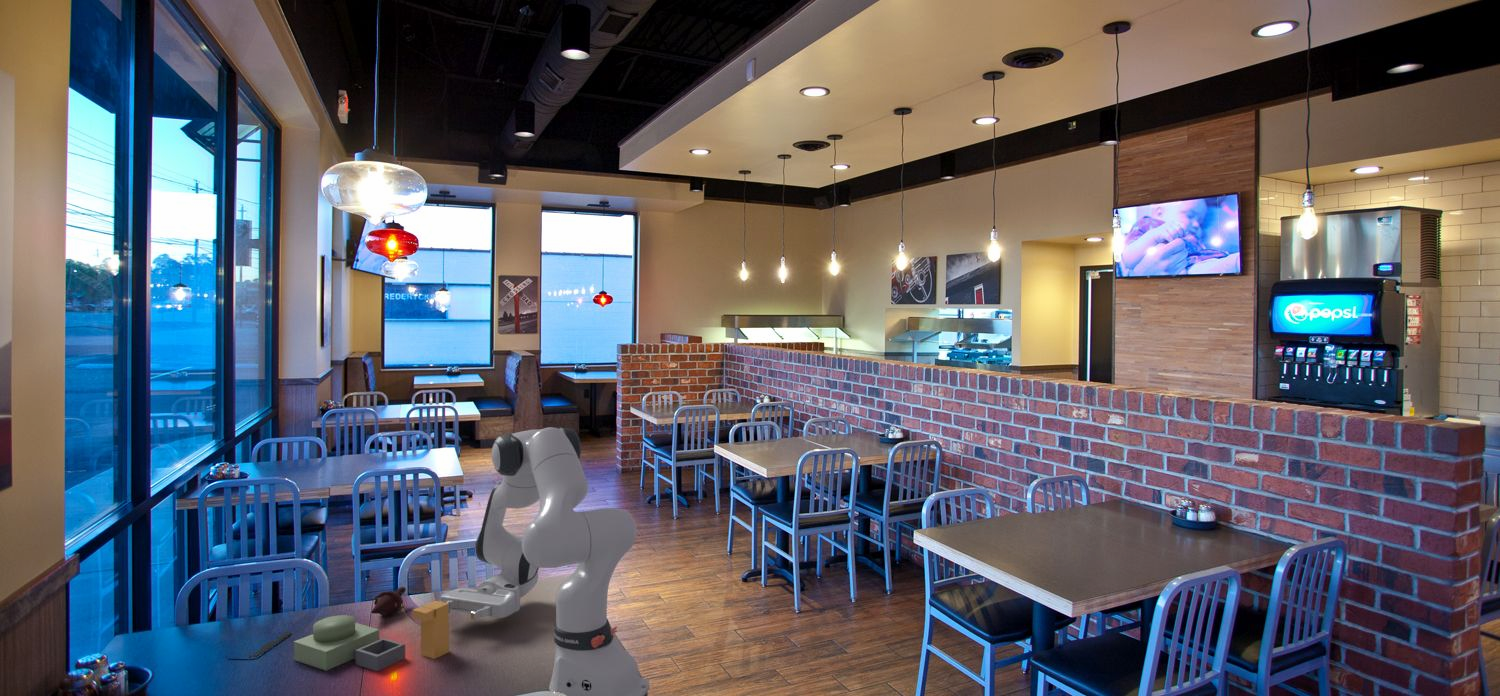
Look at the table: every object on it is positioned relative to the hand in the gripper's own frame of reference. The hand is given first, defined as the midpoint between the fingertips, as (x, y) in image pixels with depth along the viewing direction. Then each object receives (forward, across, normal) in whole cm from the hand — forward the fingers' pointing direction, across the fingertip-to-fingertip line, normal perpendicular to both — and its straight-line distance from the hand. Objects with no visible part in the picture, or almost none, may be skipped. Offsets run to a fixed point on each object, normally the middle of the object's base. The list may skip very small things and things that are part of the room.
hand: (457, 613), depth 193 cm
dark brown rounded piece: (-7, -29, +7) cm, 31 cm away
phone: (+19, -44, +7) cm, 49 cm away
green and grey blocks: (+17, -17, +7) cm, 25 cm away
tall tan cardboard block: (+9, 0, +7) cm, 11 cm away
